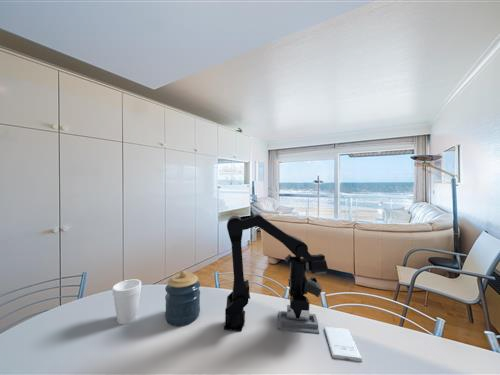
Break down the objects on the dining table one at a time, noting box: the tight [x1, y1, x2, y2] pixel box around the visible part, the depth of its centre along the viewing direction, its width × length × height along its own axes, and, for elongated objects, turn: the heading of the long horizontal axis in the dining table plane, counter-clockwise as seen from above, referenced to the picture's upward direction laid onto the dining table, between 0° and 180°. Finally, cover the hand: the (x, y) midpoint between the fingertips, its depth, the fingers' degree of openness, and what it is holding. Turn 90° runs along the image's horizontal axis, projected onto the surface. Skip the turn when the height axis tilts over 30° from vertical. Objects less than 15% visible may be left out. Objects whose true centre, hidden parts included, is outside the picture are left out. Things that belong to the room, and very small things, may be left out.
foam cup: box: [112, 278, 142, 325], centre depth 79 cm, size 10×9×13 cm
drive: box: [286, 304, 310, 322], centre depth 78 cm, size 8×2×5 cm, turn 82°
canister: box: [164, 270, 201, 327], centre depth 81 cm, size 13×13×18 cm
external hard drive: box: [323, 326, 363, 362], centre depth 67 cm, size 2×8×12 cm
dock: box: [278, 310, 320, 334], centre depth 78 cm, size 14×10×2 cm
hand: (297, 314), depth 78 cm, fingers open, 4 cm apart
